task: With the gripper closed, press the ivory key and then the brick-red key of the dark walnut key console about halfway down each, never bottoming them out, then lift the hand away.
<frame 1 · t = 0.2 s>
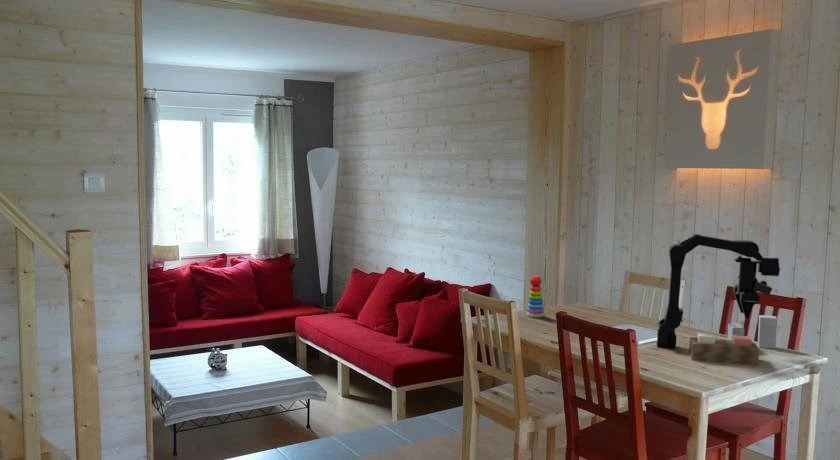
hand: (744, 315, 265), 14 cm above the table, tool pointing down, fingers open, 9 cm apart
walnut key console: (722, 358, 257), on the table
stacking toy: (535, 316, 323), on the table
medicine box: (735, 347, 274), on the table
skincare box: (766, 347, 275), on the table
brick-red key: (741, 342, 255), point 6 cm above the table, slide at 0.0 cm
ivory key: (706, 340, 258), point 6 cm above the table, slide at 0.0 cm
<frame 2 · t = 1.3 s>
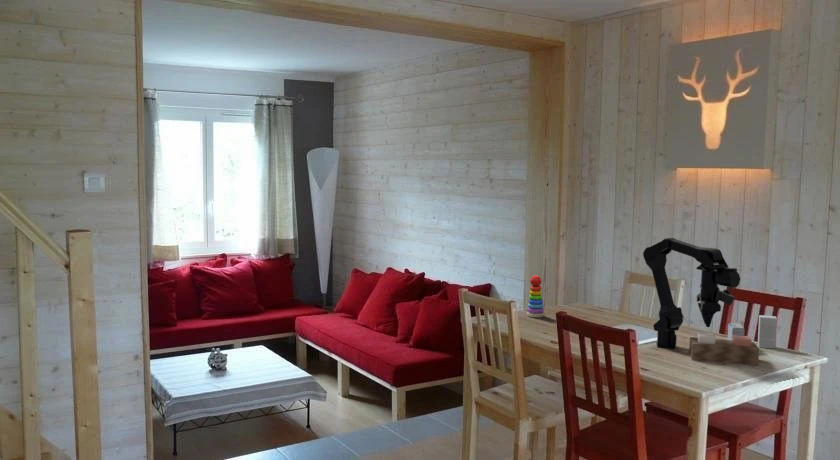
hand: (706, 325, 258), 12 cm above the table, tool pointing down, fingers open, 5 cm apart
nothing on the table moved.
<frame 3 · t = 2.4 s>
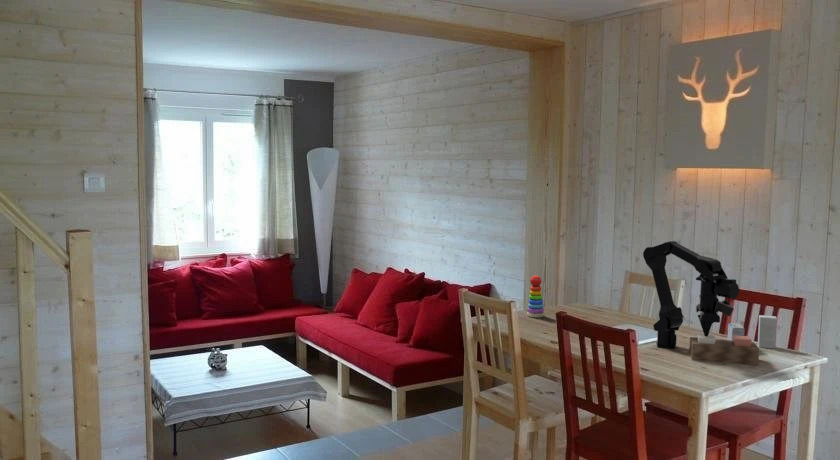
hand: (706, 336, 258), 8 cm above the table, tool pointing down, fingers closed, pressing on ivory key
ivory key: (706, 341, 258), point 6 cm above the table, slide at 0.5 cm, touching gripper
everything else where it was.
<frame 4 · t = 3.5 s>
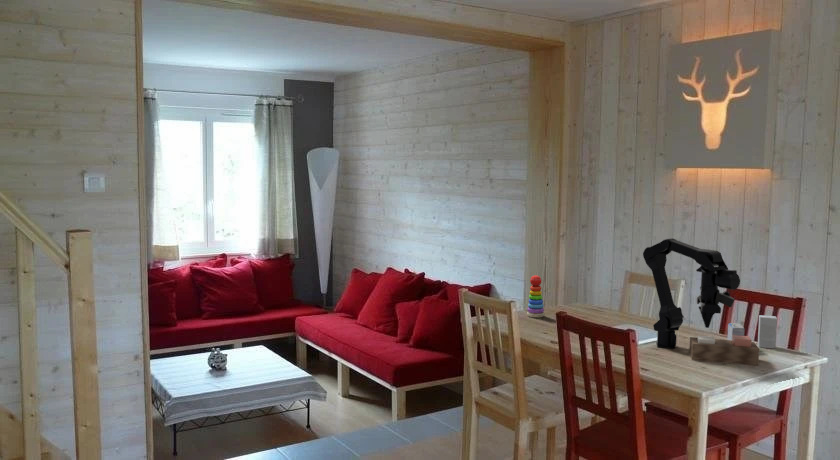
hand: (707, 327, 258), 11 cm above the table, tool pointing down, fingers closed
ivory key: (705, 343, 258), point 5 cm above the table, slide at 1.1 cm
everything else where it was.
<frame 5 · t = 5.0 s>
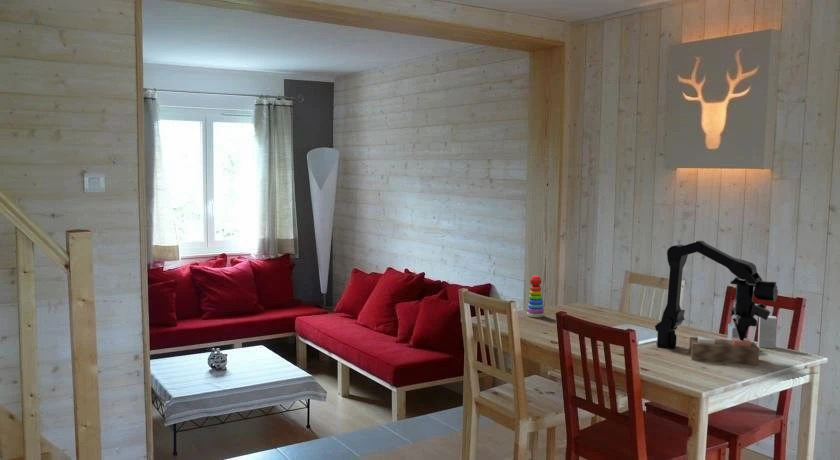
hand: (741, 339, 255), 8 cm above the table, tool pointing down, fingers closed, pressing on brick-red key
brick-red key: (741, 345, 255), point 6 cm above the table, slide at 0.9 cm, touching gripper
everything else where it was.
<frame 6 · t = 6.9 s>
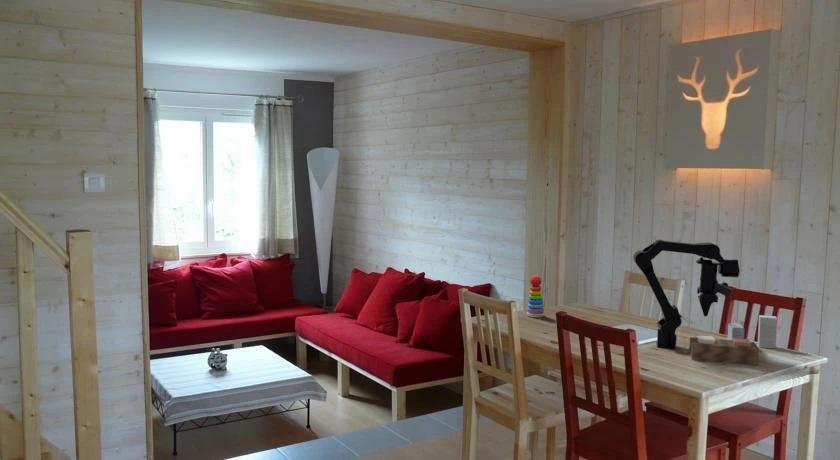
hand: (705, 316, 270), 13 cm above the table, tool pointing down, fingers closed
brick-red key: (741, 345, 255), point 5 cm above the table, slide at 1.1 cm
everything else where it was.
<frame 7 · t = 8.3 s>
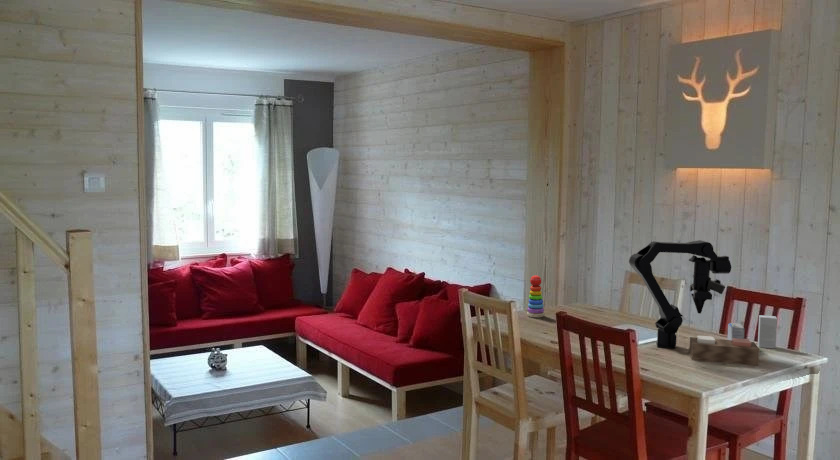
hand: (699, 313, 273), 13 cm above the table, tool pointing down, fingers closed
nothing on the table moved.
at the end: ivory key slide at 1.1 cm; brick-red key slide at 1.1 cm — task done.
